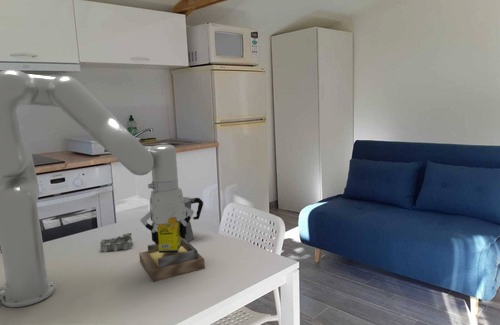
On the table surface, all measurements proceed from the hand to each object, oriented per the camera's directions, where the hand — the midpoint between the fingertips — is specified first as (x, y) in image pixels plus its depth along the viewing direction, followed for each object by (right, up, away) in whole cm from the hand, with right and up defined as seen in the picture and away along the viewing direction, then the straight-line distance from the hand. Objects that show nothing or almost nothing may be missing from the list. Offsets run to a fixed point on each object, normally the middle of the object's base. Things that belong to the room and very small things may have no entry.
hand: (169, 239), depth 117 cm
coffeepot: (+1, -5, +23) cm, 24 cm away
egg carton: (-23, -7, +17) cm, 29 cm away
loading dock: (0, -8, +1) cm, 8 cm away
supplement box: (0, -3, +1) cm, 3 cm away
